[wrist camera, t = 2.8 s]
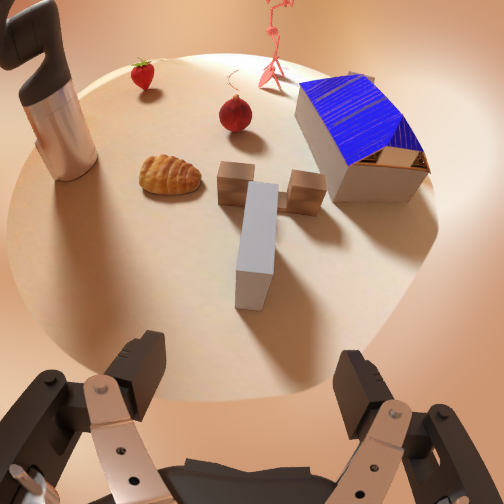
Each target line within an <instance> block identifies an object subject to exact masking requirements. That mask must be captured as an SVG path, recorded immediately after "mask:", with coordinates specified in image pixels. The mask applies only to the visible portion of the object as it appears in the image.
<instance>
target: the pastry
mask: <svg viewBox="0 0 504 504" xmlns="http://www.w3.org/2000/svg"><path fill="white" fill-rule="evenodd" d="M200 180H201V173H200V172H199V170H197V169H196V168H195V167H193V165H192V164H188V163H186V162H185V161H184V160H179V159H178V158H176V157H174V156H171V157H168V156H167V155H160V156H159V157H154V156H150V157H148V158H147V159H146V161H145V162H144V163H143V166H142V169H141V171H140V176H139V184H140V186H141V187H142V188H144V189H145V190H147V191H148V192H150V193H155V194H162V195H164V194H167V195H171V194H186V193H189V192H193V191H194V190H196V189H197V188H198V186H199V185H200Z"/></svg>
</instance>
